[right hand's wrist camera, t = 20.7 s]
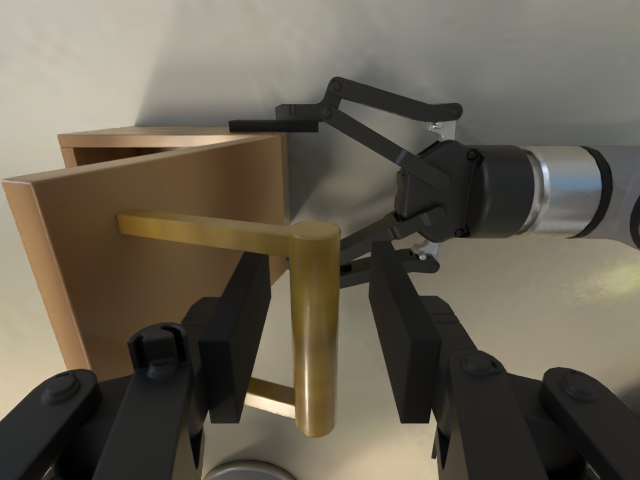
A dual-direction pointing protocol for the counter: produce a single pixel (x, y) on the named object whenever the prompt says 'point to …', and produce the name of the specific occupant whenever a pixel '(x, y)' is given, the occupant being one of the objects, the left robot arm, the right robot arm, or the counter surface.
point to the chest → (156, 145)
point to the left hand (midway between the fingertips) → (239, 192)
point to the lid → (179, 259)
